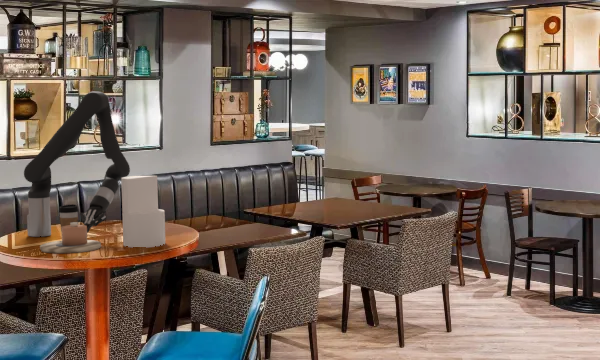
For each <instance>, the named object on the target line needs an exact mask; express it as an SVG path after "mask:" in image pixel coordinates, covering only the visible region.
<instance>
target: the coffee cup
mask: <svg viewBox="0 0 600 360" xmlns="http://www.w3.org/2000/svg"><path fill="white" fill-rule="evenodd" d="M58 213H59V224H60V231H61V233H62V227H63V226H68V225H70V223H72V222H78V221H79V216H78V215H79V214H78V213H79V208H78V204H65V205H61V206H59V208H58ZM78 223H79V222H78Z"/></svg>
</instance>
